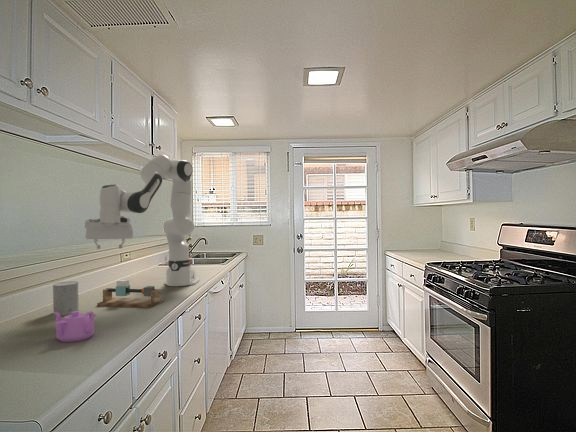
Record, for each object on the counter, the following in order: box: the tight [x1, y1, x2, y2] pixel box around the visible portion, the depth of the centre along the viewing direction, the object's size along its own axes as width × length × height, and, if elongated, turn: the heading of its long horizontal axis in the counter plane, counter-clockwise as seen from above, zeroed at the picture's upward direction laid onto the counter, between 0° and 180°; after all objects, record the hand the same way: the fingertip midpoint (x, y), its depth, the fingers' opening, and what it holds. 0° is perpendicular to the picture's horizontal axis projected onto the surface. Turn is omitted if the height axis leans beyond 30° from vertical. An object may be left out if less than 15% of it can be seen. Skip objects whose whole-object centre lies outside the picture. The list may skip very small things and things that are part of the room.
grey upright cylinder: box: [52, 281, 80, 316], centre depth 169 cm, size 10×10×12 cm
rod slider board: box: [96, 288, 165, 309], centre depth 183 cm, size 26×12×6 cm, turn 80°
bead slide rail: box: [105, 285, 156, 297], centre depth 183 cm, size 25×4×4 cm, turn 80°
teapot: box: [53, 310, 97, 343], centre depth 134 cm, size 12×14×9 cm
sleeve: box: [115, 279, 131, 297], centre depth 184 cm, size 4×4×7 cm
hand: (109, 248), depth 185 cm, fingers open, 8 cm apart
